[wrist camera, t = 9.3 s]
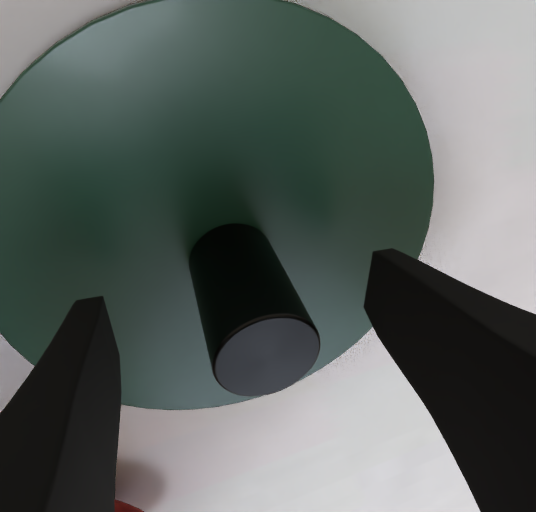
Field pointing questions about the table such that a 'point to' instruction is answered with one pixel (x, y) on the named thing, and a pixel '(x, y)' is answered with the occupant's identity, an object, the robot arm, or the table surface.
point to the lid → (207, 193)
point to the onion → (125, 507)
